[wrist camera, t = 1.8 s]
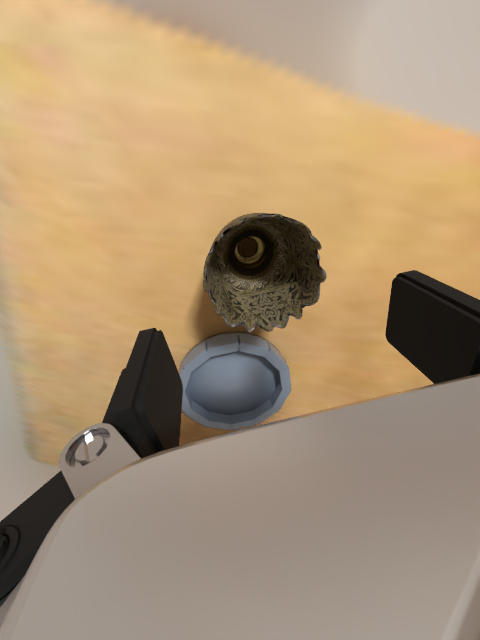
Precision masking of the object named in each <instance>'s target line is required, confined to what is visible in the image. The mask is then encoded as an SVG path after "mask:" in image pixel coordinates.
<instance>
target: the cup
mask: <svg viewBox="0 0 480 640" xmlns="http://www.w3.org/2000/svg"><path fill="white" fill-rule="evenodd" d="M245 238H251V239H253V240H255V242H256V243H257V251H256V253H255V254H254V255H253V256H251V257H244V256H242V255H241V254H240V252H239V249H238V247H239V244H240V242H241V241H242V240H243V239H245ZM318 249H319V250H320V249H321V244H320V242H319V241H318V240H317V239H316V238H315V237H314V236H312V234H311V231H310V229H309V228H308V227H307V226H306V225H304V224H303V223H301V222H299V221H297V220H294V219H292V218H288V217H285V216H282V215H281V214H266V213H253V214H247V215H243V216H241V217H238V218H236V219H234V220H233V221H231V222H230V223H228V224H227V225H226V226H225V227H224V228H223V229H222V230H221V231H220V233H219V234H218V235H217V237H216V239H215V241H214V242H213V245H212V247H211V249H210V252H209V254H208V256H207V258H206V261H205V266H204V281H203V286H204V290H205V292H206V291H208V292H209V295H210V299H211V300H212V301H213V302H214V306H215V311H216V313H217V315H222V316H223V318H224V320H225V322H226V323H227V325H229V326H231V327H236V326H238V325H244V327H245V329H246V330H247V331H248V332H252V331H253V330H254V329H255V328H254V327H255V325H256V324H257V326H258V327H259V328H262V329H264V330H266V331H268V332H270V331H272V330H273V327H275V326H276V327H278V328H285V327H286V325H287V323H288V320H289V315H291V316H294V317H295V318H296V319H300V318H301V317H302V308H304V307H305V306H311V305H313V304H315V303H316V302H317V301H318V299H319V295H320V283H321V282H324V281H325V279H326V272H325V270H324V269H322V268H321V266H320V264H319V259H320V256H319V254H318V251H317V250H318ZM274 325H275V326H274Z"/></svg>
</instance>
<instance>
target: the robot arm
mask: <svg viewBox="0 0 480 640" xmlns="http://www.w3.org/2000/svg"><path fill="white" fill-rule="evenodd" d="M386 339H387V341H388V342H389V343H390V344H391V345H392V346H393V347H394V348H396V349H397V350H398V351H399V352H400V353H401V354H402V355H403V356H404V357H405V358H407V359H408V360H409V361H410V362H411V363H412V364H413V365H414V366H415V367H416V368H418V369H419V370H420V371H421V372H422V373H423V374H424V375H425V376H426V377H427V378H429V379H430V380H431V381H432V382H433V383H434V384H433V385H428V386H424V387H420V388H415V389H411V390H406V391H402V392H398V393H394V394H389V395H385V396H381V397H377V398H372V399H368V400H364V401H360V402H355V403H351V404H347V405H343V406H338V407H334V408H330V409H326V410H321V411H317V412H313V413H309V414H305V415H301V416H296V417H292V418H288V419H284V420H280V421H276V422H272V423H267V424H263V425H259V426H255V427H251V428H247V429H243V430H238V431H234V432H230V433H226V434H222V435H218V436H214V437H210V438H206V439H203V440H199V441H195V442H192V443H188V444H184V445H181V446H179V437H180V424H181V410H182V396H183V384H182V380H181V378H180V375H179V373H178V370H177V368H176V365H175V363H174V360H173V358H172V355H171V352H170V350H169V347H168V345H167V342H166V340H165V337H164V335H163V332H162V331H161V330H160V331H157V330H156V328H152V329H147V330H143V331H140V332H139V334H138V337H137V339H136V342H135V345H134V348H133V350H132V353H131V356H130V358H129V361H128V364H127V367H126V368H125V369H123V371H122V372H121V375H120V377H119V380H118V383H117V385H116V388H115V391H114V393H113V396H112V398H111V401H110V404H109V406H108V409H107V411H106V414H105V417H104V419H103V422H102V423H100V424H95V425H92V426H90V427H87V428H86V429H84V430H82V431H81V432H79V433H78V434H77V435H76V436H74V437H73V438H72V439H71V440H70V441H69V442H68V444H67V445H66V446H65V447H64V449H63V451H62V453H61V455H60V459H59V466H60V469H61V471H60V472H59V473H58V474H56V475H55V476H54V477H53V478H52V479H51V480H50V481H48V482H47V483H46V484H45V485H43V486H42V487H41V488H40V489H39V490H37V491H36V492H35V493H34V494H33V495H32V496H30V497H29V498H28V499H27V500H26V501H24V502H23V503H22V504H21V505H20V506H18V507H17V508H16V509H15V510H14V511H13V512H11V513H10V514H9V515H8V516H7V517H6V518H4V519H3V520H2V521H1V522H0V640H480V300H478V299H476V298H474V297H472V296H470V295H468V294H466V293H463V292H461V291H459V290H457V289H455V288H453V287H450V286H448V285H446V284H444V283H442V282H440V281H437V280H435V279H433V278H431V277H429V276H427V275H425V274H422V273H420V272H418V271H415V270H413V271H408V272H404V273H399V274H398V275H397V276H396V278H394V279H393V281H392V288H391V296H390V303H389V311H388V319H387V327H386Z"/></svg>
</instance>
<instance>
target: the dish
mask: <svg viewBox="0 0 480 640" xmlns="http://www.w3.org/2000/svg"><path fill="white" fill-rule="evenodd" d="M179 375H180V378H181V380H182V384H183V396H182V411H183V412H184V414H185V415H187V416H188V417H190V418H192V419H193V420H195V421H196V422H198V423H199V424H201V425H202V426H204V425H205V427H211V428H218V429H225V430H230V429H231V430H235V429H239V428H244V427H249V426H253V425H257V424H259V423H261V422H262V421H264V420H265V419H267V418H268V417H270V416H272V415H273V414H275V413H276V412H278V411H279V410H280V409H281V407H282V405H283V403H284V402H285V400H286V398H287V397H288V395H289V393H290V391H291V382H290V373H289V367H288V365H287V362H286V360H285V358H284V357H283V356H282V355H281V353H280V352H279V350H278V349H277V348H276V347H275V346H274V345H273V344H272V343H271V342H269V341H267V340H266V339H264V338H262V337H260V336H257V335H254V334H250V333H244V332H229V333H222V334H218V335H215V336H212V337H209V338H207V339H205V340H203V341H201V342H200V343H198V344H197V345H196V346H194V347H193V348H192V349H191V350H190V351H189V352H188V353H187V355H186V356H185V357H184V359H183V361H182V363H181V365H180V368H179ZM278 409H279V410H278ZM256 423H257V424H256Z"/></svg>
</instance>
